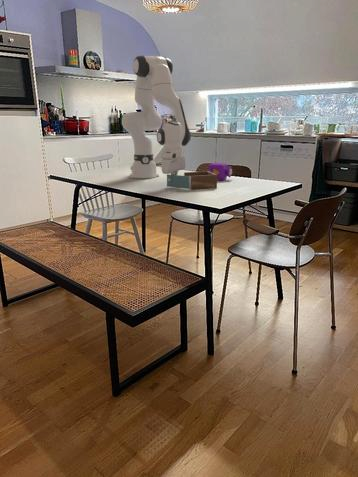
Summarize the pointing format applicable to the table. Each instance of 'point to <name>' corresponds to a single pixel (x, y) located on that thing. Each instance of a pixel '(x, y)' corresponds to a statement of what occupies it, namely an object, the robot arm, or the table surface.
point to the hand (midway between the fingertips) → (174, 179)
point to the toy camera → (220, 170)
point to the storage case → (202, 180)
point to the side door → (179, 181)
